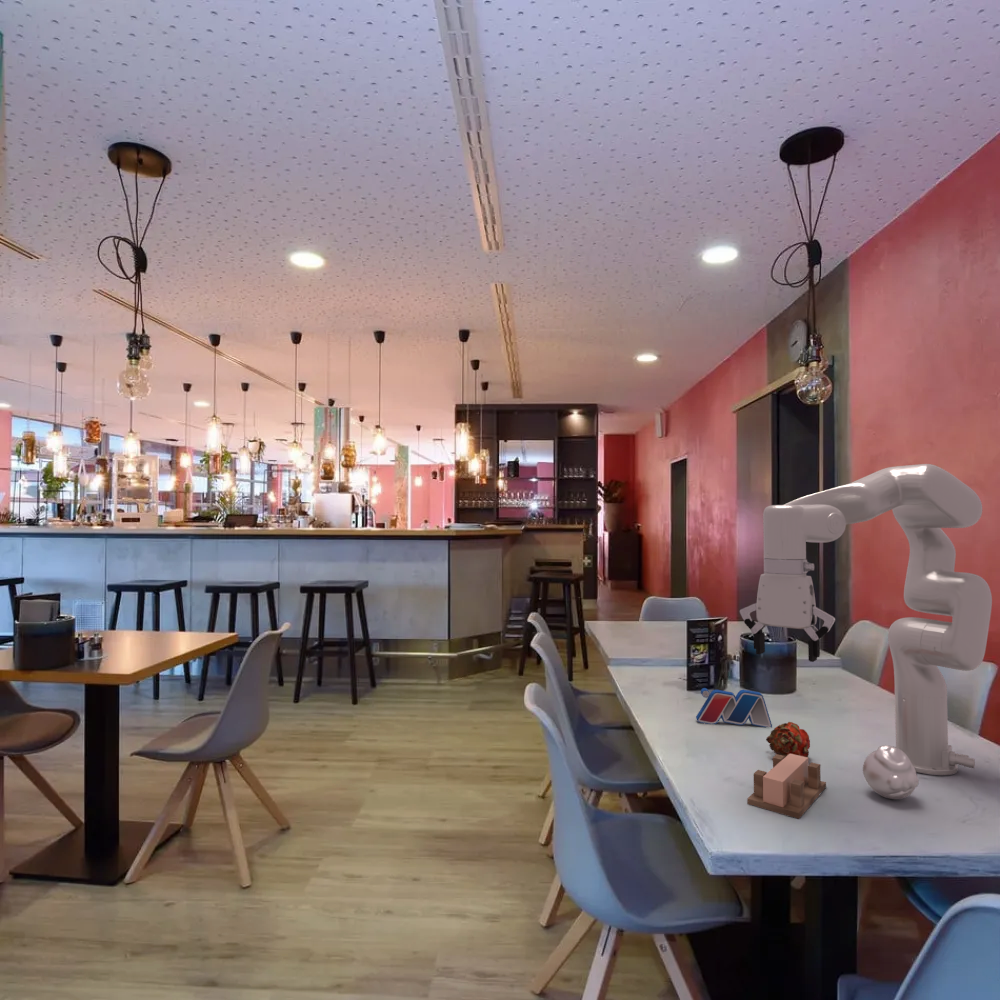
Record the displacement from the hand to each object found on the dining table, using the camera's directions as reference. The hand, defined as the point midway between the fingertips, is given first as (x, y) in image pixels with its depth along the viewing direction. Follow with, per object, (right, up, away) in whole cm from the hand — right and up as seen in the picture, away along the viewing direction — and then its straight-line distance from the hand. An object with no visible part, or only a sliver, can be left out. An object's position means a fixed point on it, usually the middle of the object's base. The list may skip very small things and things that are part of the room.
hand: (786, 656), depth 121 cm
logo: (+6, -29, +42) cm, 51 cm away
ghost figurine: (+19, -27, -2) cm, 33 cm away
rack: (0, -26, -1) cm, 26 cm away
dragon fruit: (+9, -28, +19) cm, 34 cm away
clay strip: (0, -25, -1) cm, 25 cm away
